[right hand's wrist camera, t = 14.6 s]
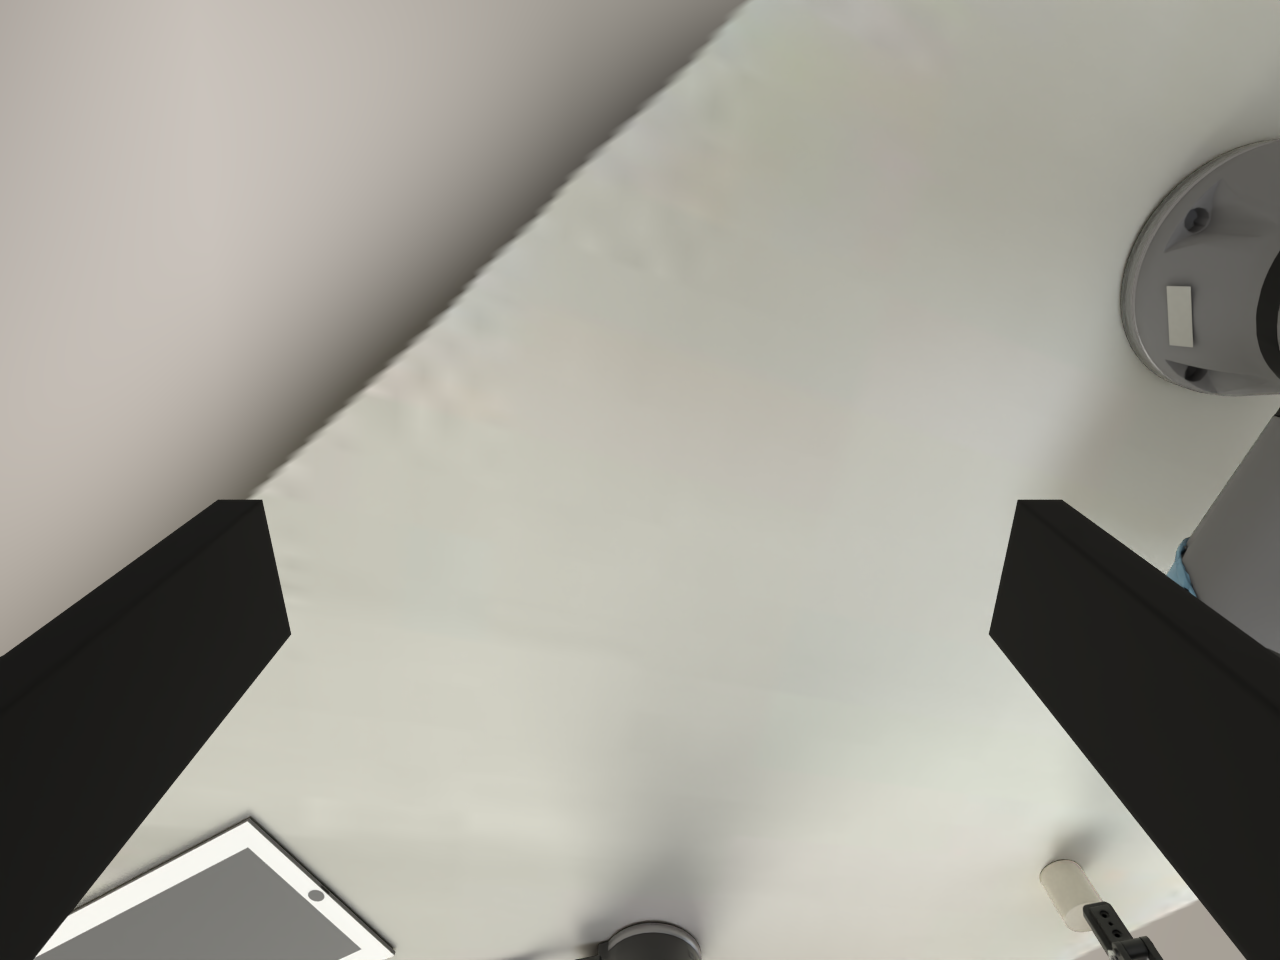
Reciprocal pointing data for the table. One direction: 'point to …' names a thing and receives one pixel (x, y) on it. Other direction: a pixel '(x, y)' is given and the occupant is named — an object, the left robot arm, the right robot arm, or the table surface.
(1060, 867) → the can
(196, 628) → the right robot arm
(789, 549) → the table surface
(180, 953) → the tablet
